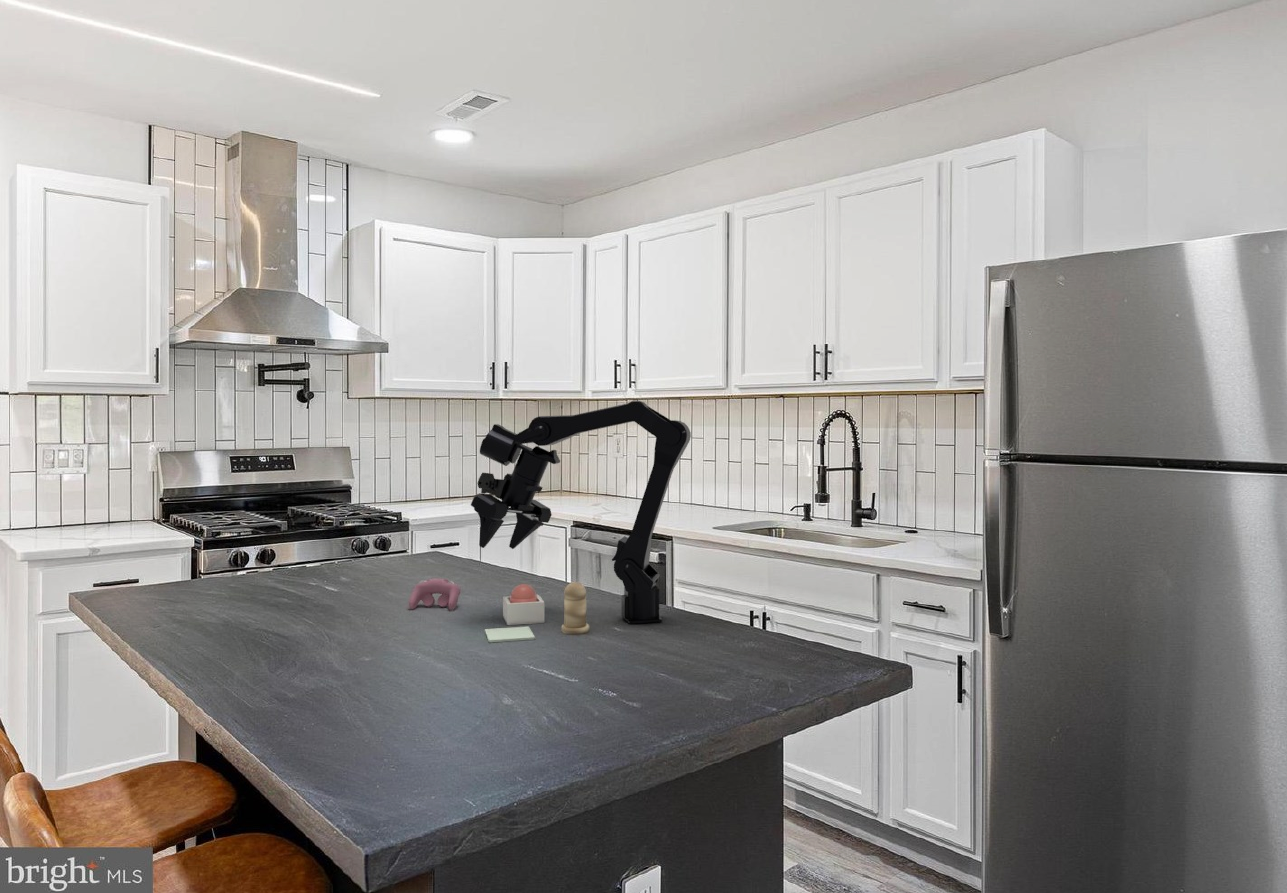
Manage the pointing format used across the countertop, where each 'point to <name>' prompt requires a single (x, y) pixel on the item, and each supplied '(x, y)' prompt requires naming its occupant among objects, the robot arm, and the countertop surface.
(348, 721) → the countertop surface
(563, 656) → the countertop surface
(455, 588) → the video game controller
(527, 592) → the pink rounded piece
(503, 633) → the pad
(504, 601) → the housing
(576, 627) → the pawn
